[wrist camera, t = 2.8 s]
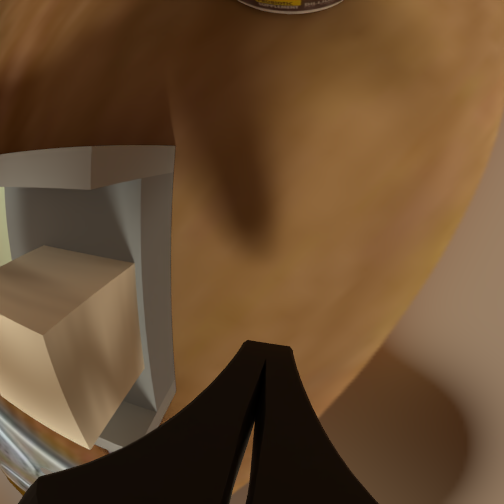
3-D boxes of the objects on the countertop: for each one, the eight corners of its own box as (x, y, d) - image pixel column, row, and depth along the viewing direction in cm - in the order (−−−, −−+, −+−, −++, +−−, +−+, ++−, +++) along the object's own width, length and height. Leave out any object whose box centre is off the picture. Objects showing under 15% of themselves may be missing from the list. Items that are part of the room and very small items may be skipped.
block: (144, 368, 11) (90, 450, 6) (61, 338, 11) (1, 395, 7) (134, 263, 9) (42, 335, 5) (43, 245, 10) (-42, 289, 5)
